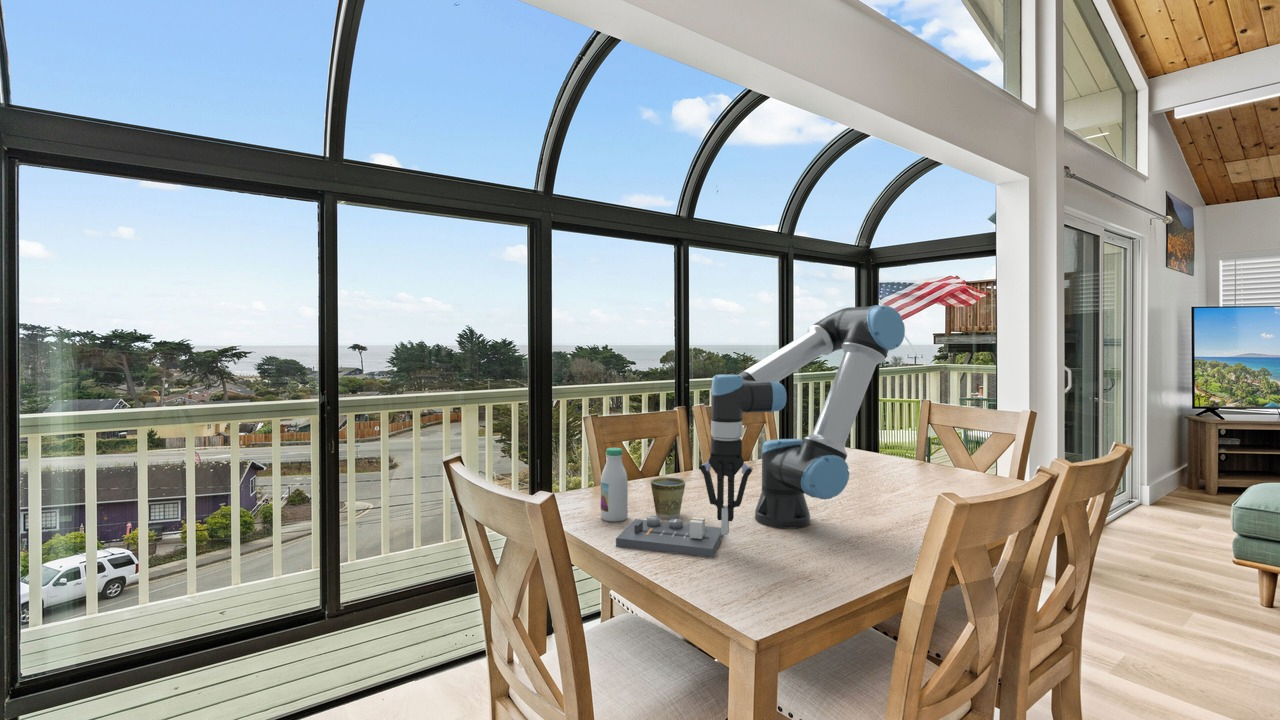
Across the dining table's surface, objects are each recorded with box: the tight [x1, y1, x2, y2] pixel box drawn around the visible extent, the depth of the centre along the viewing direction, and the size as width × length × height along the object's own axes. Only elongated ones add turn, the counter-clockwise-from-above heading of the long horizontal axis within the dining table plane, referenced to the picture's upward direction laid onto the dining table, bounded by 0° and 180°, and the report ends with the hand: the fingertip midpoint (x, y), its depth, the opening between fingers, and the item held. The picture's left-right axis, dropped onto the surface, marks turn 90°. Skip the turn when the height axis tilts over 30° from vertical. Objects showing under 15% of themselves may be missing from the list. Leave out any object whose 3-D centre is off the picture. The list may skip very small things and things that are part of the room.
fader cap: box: [689, 516, 706, 539], centre depth 145 cm, size 3×4×4 cm
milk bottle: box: [600, 447, 629, 523], centre depth 166 cm, size 8×8×20 cm
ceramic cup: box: [650, 476, 686, 520], centre depth 171 cm, size 13×10×10 cm
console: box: [615, 516, 724, 558], centre depth 148 cm, size 24×16×4 cm, turn 73°
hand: (725, 533), depth 143 cm, fingers closed
